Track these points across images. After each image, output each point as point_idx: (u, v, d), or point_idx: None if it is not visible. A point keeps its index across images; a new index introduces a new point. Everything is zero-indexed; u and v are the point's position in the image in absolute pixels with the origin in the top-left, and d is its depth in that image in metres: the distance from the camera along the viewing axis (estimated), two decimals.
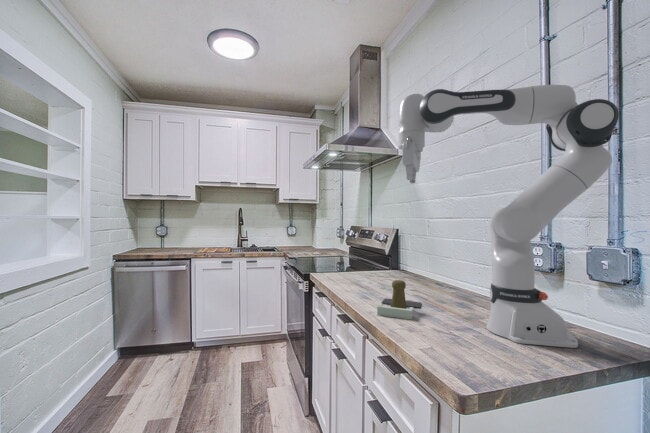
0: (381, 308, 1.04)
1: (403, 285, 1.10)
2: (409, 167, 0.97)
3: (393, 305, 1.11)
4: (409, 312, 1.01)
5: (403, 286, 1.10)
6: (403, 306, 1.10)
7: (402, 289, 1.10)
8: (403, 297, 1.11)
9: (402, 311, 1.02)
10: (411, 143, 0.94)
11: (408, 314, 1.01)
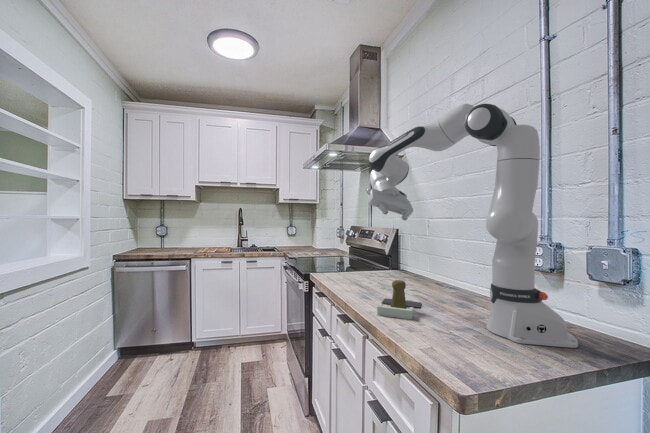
0: (381, 308, 1.04)
1: (403, 285, 1.10)
2: (379, 205, 1.14)
3: (393, 305, 1.11)
4: (409, 312, 1.01)
5: (403, 286, 1.10)
6: (403, 306, 1.10)
7: (402, 289, 1.10)
8: (403, 297, 1.11)
9: (402, 311, 1.02)
10: (370, 190, 1.17)
11: (408, 314, 1.01)
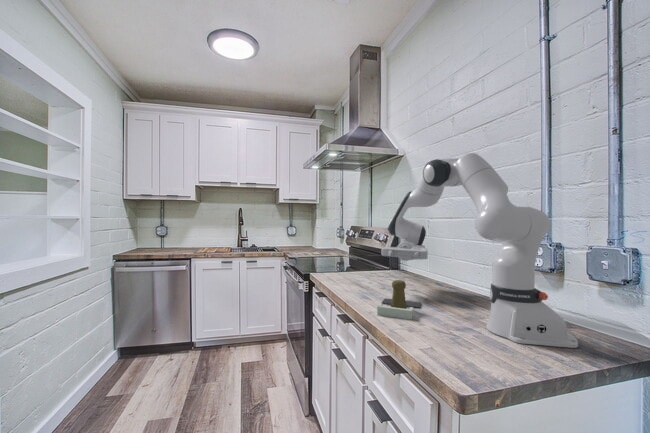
0: (381, 308, 1.04)
1: (403, 285, 1.10)
2: (388, 252, 1.31)
3: (393, 305, 1.11)
4: (409, 312, 1.01)
5: (403, 286, 1.10)
6: (403, 306, 1.10)
7: (402, 289, 1.10)
8: (403, 297, 1.11)
9: (402, 311, 1.02)
10: None
11: (408, 314, 1.01)
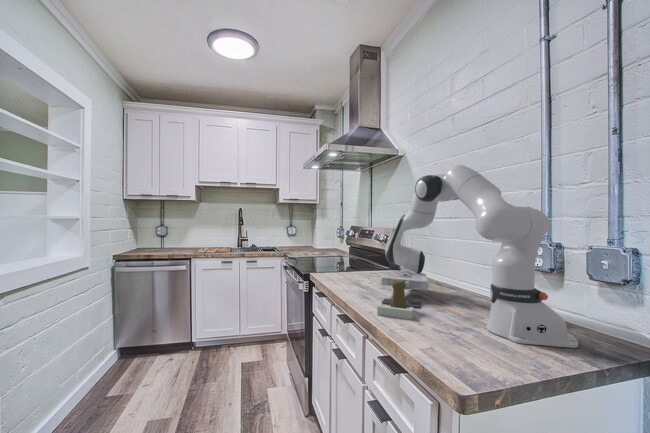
0: (381, 308, 1.04)
1: (403, 285, 1.10)
2: None
3: (393, 305, 1.11)
4: (409, 312, 1.01)
5: (403, 286, 1.10)
6: (403, 306, 1.10)
7: (402, 289, 1.10)
8: (403, 297, 1.11)
9: (402, 311, 1.02)
10: None
11: (408, 314, 1.01)
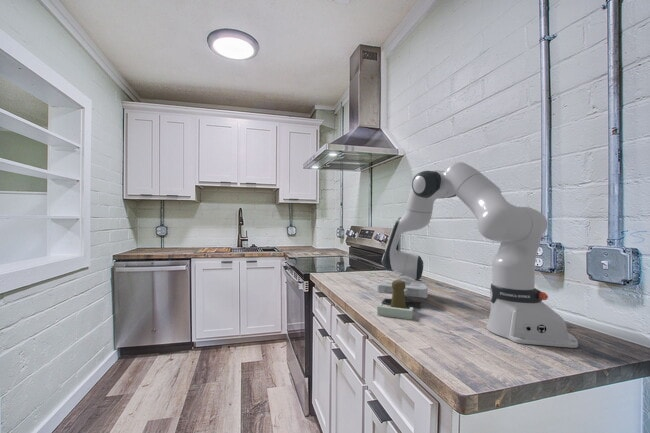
0: (381, 308, 1.04)
1: (403, 285, 1.10)
2: None
3: (393, 305, 1.11)
4: (409, 312, 1.01)
5: (403, 286, 1.10)
6: (403, 306, 1.10)
7: (402, 289, 1.10)
8: (403, 297, 1.10)
9: (402, 311, 1.02)
10: None
11: (408, 314, 1.01)
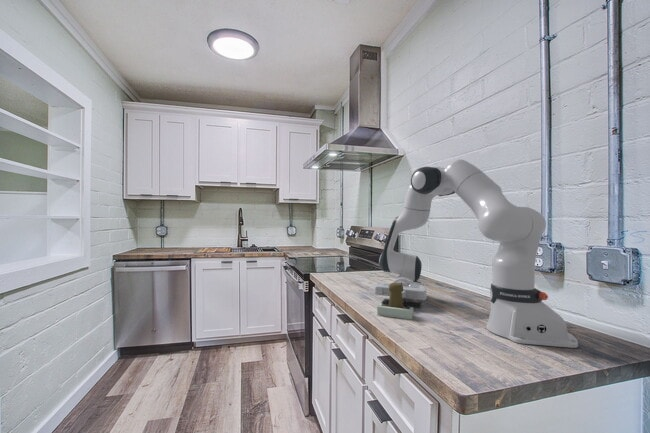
0: (381, 308, 1.04)
1: (400, 288, 1.05)
2: None
3: None
4: (409, 312, 1.01)
5: (400, 289, 1.05)
6: None
7: (399, 292, 1.06)
8: (400, 301, 1.06)
9: (402, 311, 1.02)
10: None
11: (408, 314, 1.01)
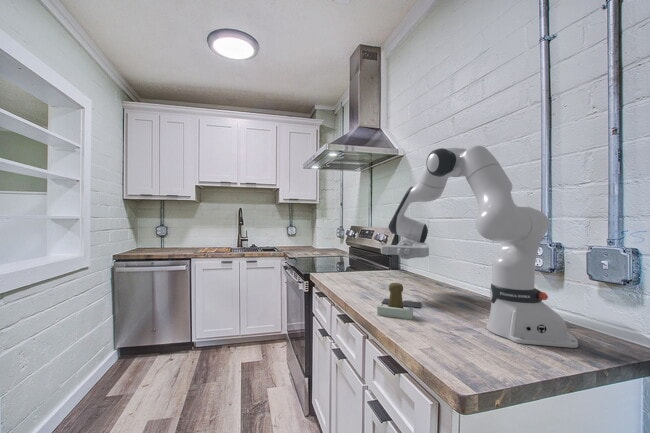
0: (381, 308, 1.04)
1: (400, 288, 1.05)
2: (397, 250, 1.25)
3: None
4: (409, 312, 1.01)
5: (400, 289, 1.05)
6: None
7: (399, 292, 1.06)
8: (400, 301, 1.06)
9: (402, 311, 1.02)
10: None
11: (408, 314, 1.01)
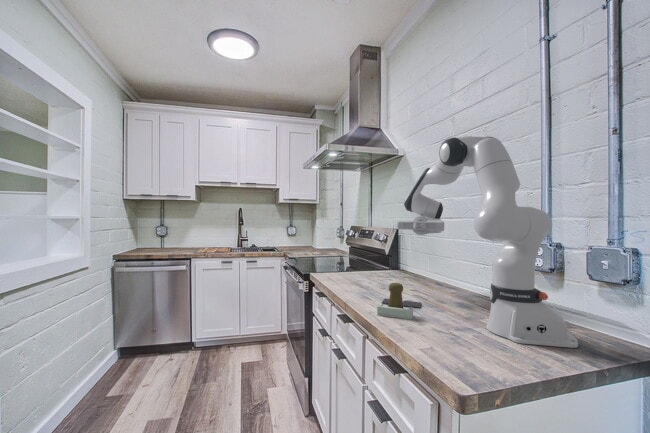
0: (381, 308, 1.04)
1: (400, 288, 1.05)
2: (413, 225, 1.28)
3: None
4: (409, 312, 1.01)
5: (400, 289, 1.05)
6: None
7: (399, 292, 1.06)
8: (400, 301, 1.06)
9: (402, 311, 1.02)
10: None
11: (408, 314, 1.01)
